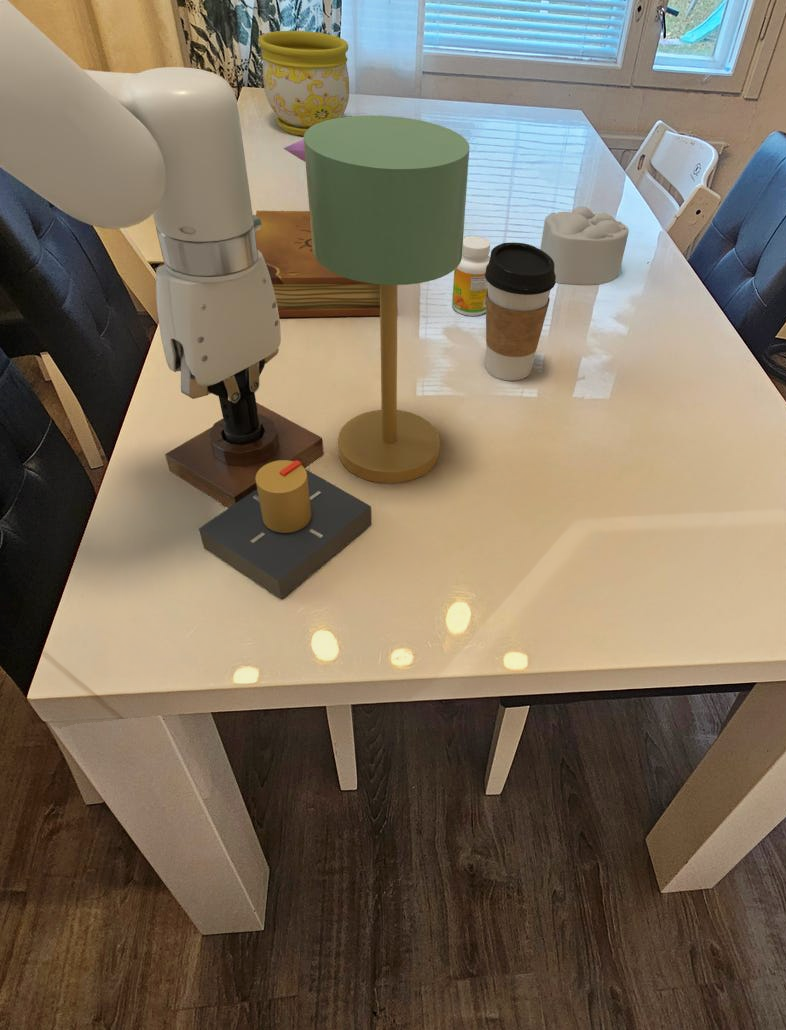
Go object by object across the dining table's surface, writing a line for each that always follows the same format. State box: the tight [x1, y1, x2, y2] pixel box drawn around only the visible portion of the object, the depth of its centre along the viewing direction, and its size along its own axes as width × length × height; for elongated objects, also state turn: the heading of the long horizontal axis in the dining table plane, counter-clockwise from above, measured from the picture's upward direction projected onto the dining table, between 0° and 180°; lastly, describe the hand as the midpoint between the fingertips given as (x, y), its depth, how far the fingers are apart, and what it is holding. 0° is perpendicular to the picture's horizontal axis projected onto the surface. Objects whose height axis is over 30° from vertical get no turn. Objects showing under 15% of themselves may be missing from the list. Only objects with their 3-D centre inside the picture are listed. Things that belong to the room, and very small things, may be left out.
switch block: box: [164, 402, 324, 509], centre depth 73 cm, size 12×10×4 cm
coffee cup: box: [485, 242, 557, 382], centre depth 86 cm, size 8×8×15 cm
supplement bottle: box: [451, 235, 491, 317], centre depth 99 cm, size 5×5×10 cm
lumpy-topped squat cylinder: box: [539, 206, 630, 286], centre depth 112 cm, size 10×13×9 cm
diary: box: [255, 210, 380, 318], centre depth 103 cm, size 23×19×6 cm
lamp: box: [303, 115, 470, 484], centre depth 67 cm, size 13×13×32 cm
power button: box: [223, 420, 262, 445], centre depth 71 cm, size 4×4×2 cm
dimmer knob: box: [256, 460, 312, 533], centre depth 63 cm, size 4×4×5 cm
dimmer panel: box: [198, 468, 372, 600], centre depth 66 cm, size 12×10×3 cm
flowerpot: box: [257, 30, 350, 137], centre depth 150 cm, size 18×18×16 cm
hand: (242, 424), depth 71 cm, fingers closed
